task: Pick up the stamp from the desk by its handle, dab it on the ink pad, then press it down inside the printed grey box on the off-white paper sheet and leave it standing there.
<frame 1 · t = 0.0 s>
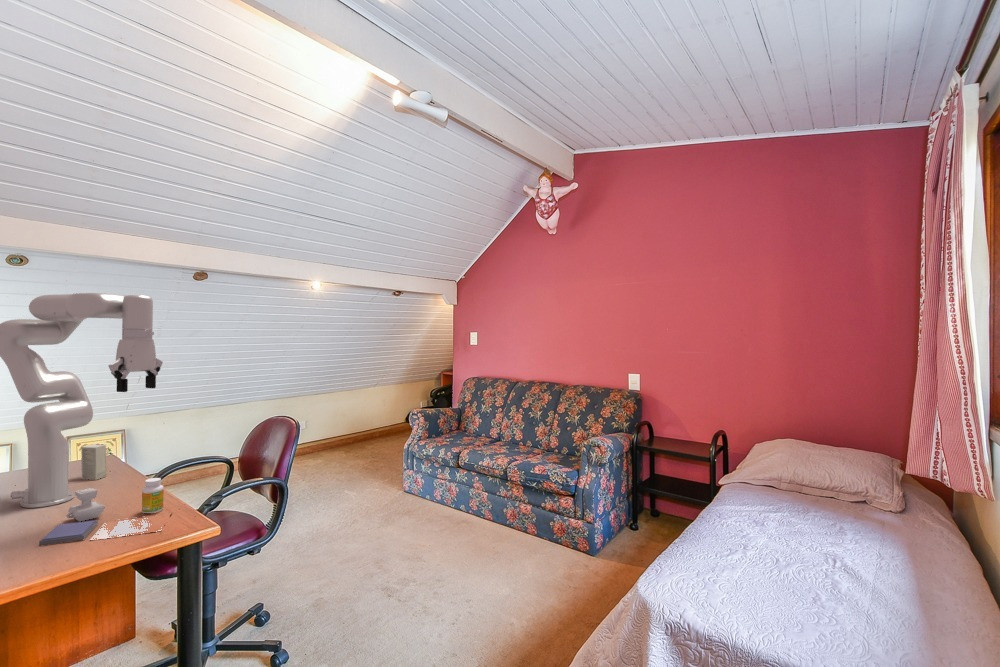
hand: (136, 389, 149), 37 cm above the table, tool pointing down, fingers open, 9 cm apart
stamp: (86, 519, 141), on the table
skincare box: (93, 478, 178), on the table
paper: (133, 526, 136), on the table
ink pad: (70, 534, 130), on the table
supplement bottle: (152, 511, 148), on the table
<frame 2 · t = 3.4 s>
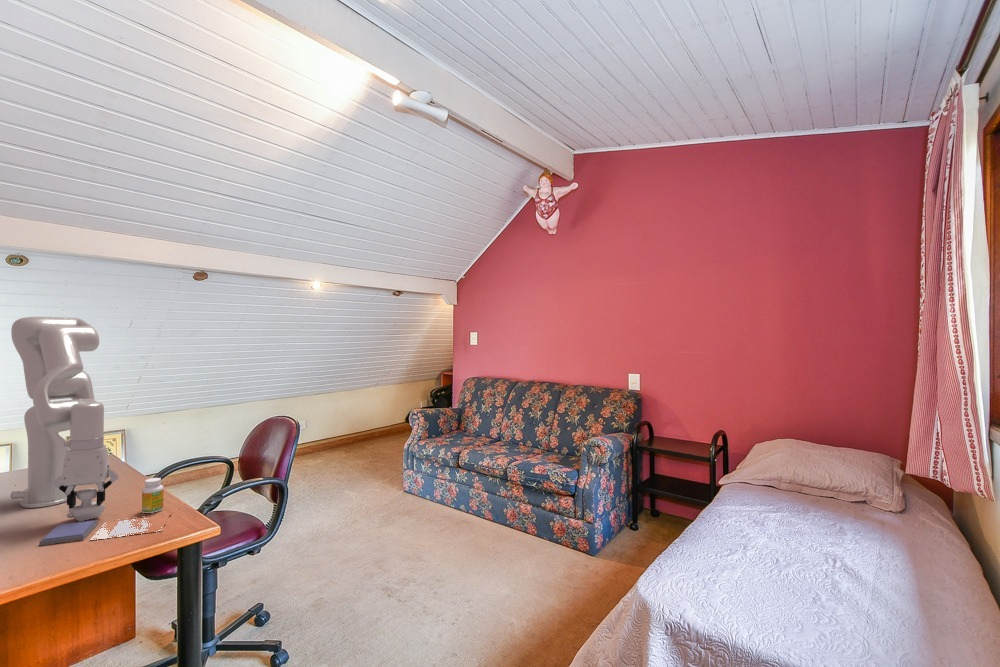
hand: (86, 504, 141), 4 cm above the table, tool pointing down, fingers closed on stamp, 5 cm apart
stamp: (86, 519, 141), on the table, touching gripper
everything else where it was.
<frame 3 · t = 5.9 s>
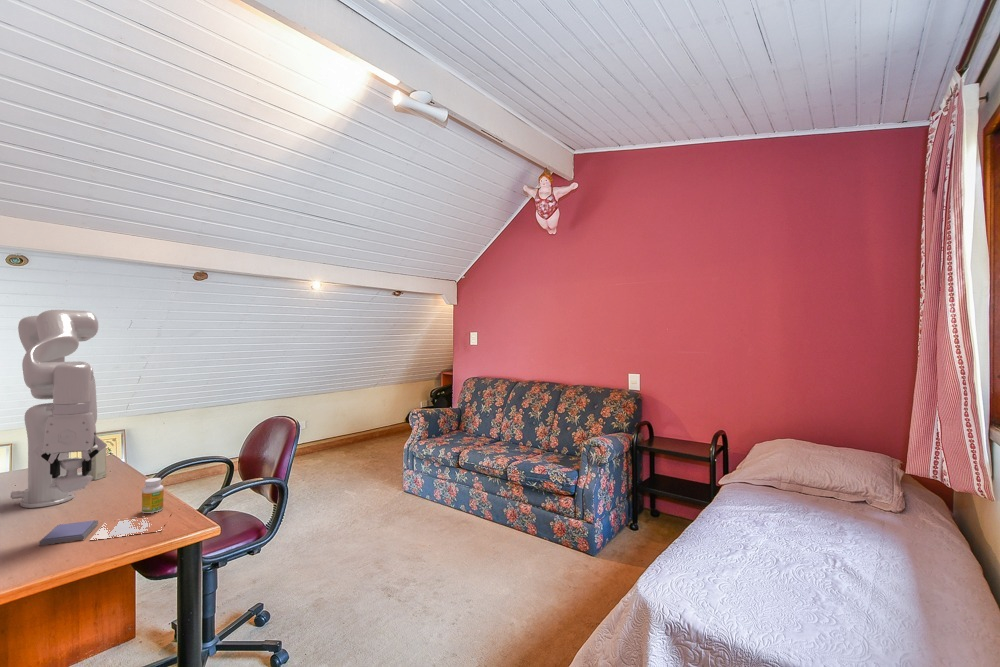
hand: (71, 474, 130), 16 cm above the table, tool pointing down, fingers closed on stamp, 5 cm apart
stamp: (71, 490, 130), point 12 cm above the table, touching gripper
everything else where it was.
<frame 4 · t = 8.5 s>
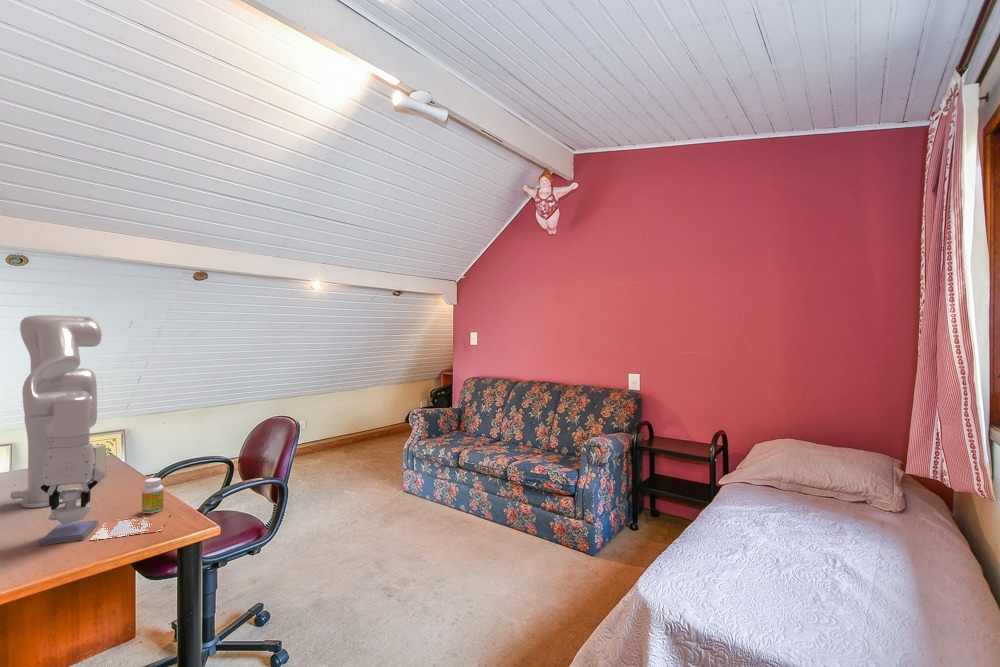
hand: (69, 505, 131), 8 cm above the table, tool pointing down, fingers closed on stamp, 5 cm apart
stamp: (70, 521, 131), point 3 cm above the table, touching gripper
everything else where it was.
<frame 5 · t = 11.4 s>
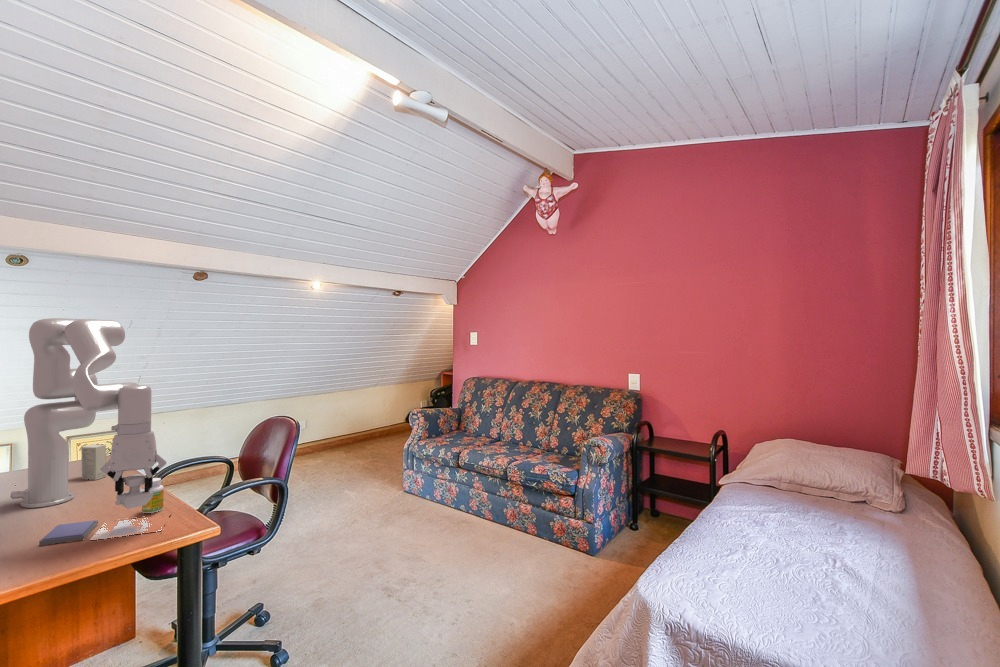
hand: (134, 491, 136), 10 cm above the table, tool pointing down, fingers closed on stamp, 5 cm apart
stamp: (134, 506, 136), point 6 cm above the table, touching gripper
everything else where it was.
when the fingers open (5 cm above the table, at t = 13.8 s): stamp stays where it is, resting on paper.
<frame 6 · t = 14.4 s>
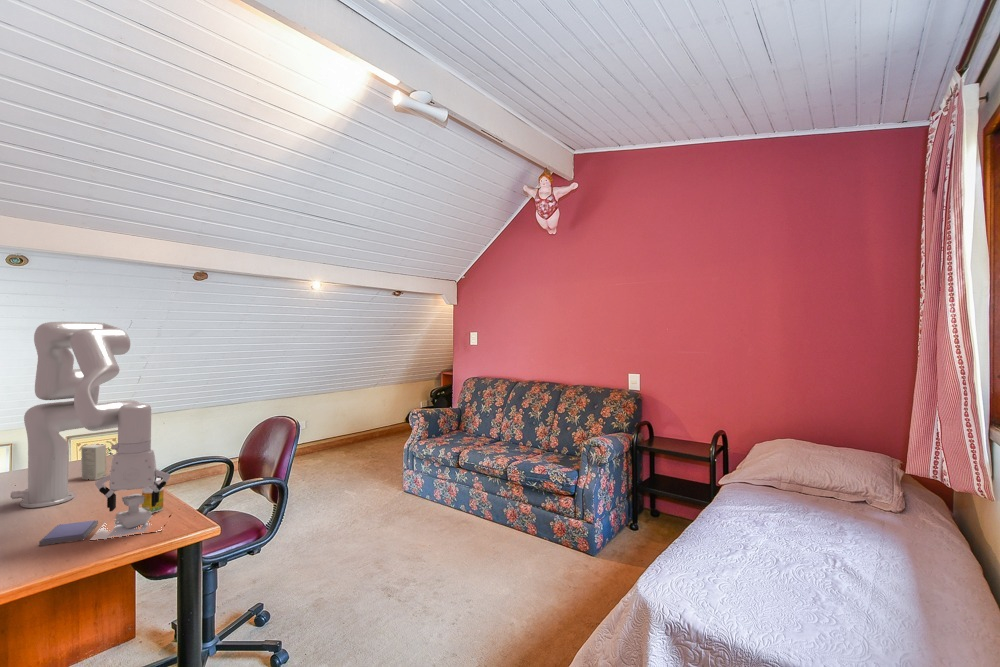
hand: (133, 507, 136), 6 cm above the table, tool pointing down, fingers open, 9 cm apart
stamp: (133, 526, 136), resting on paper
everything else where it was.
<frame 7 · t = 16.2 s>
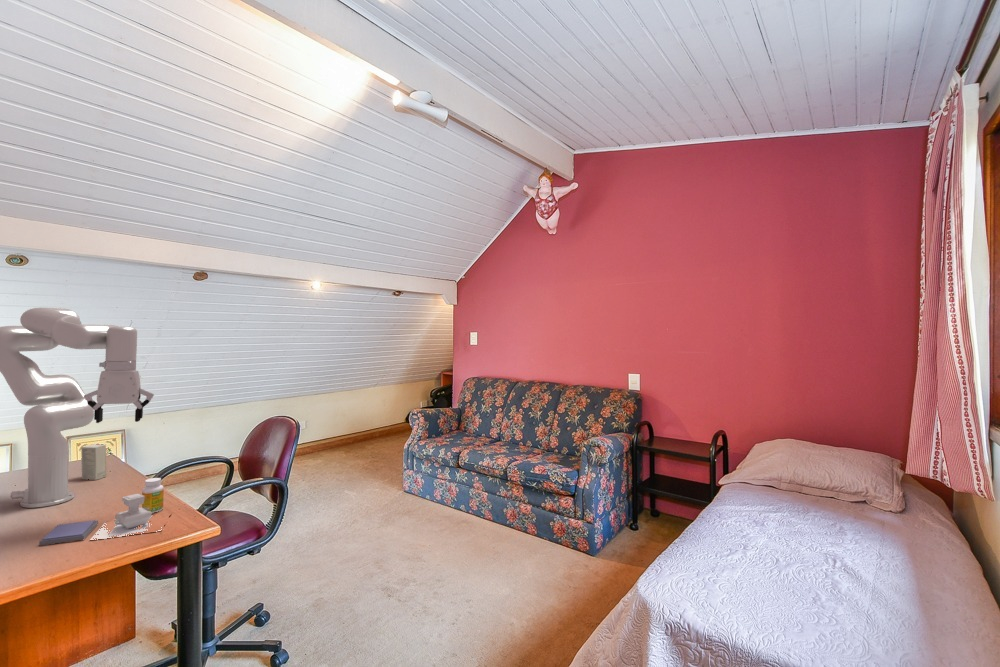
hand: (118, 421, 148), 27 cm above the table, tool pointing down, fingers open, 9 cm apart
nothing on the table moved.
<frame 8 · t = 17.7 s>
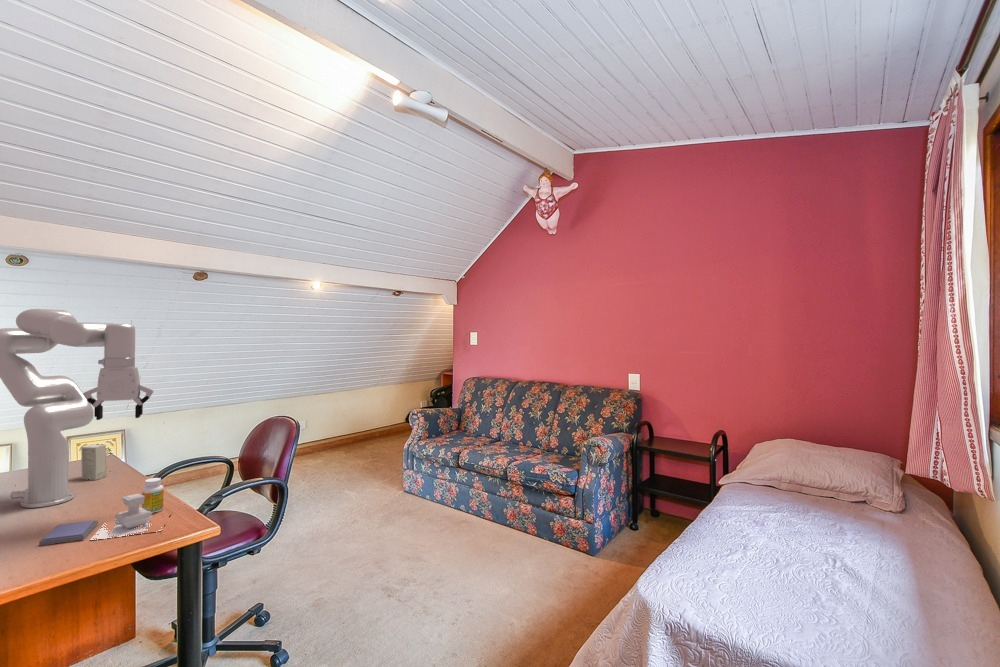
hand: (118, 418, 149), 28 cm above the table, tool pointing down, fingers open, 9 cm apart
nothing on the table moved.
at the end: stamp inside the target area on the paper (0.1 cm from its centre), point 0.1 cm above the paper's base; stamp tilted 0°; the gripper is holding nothing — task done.
